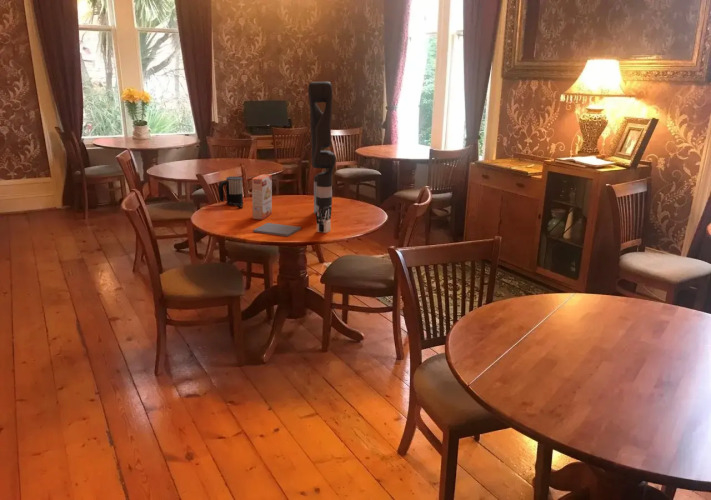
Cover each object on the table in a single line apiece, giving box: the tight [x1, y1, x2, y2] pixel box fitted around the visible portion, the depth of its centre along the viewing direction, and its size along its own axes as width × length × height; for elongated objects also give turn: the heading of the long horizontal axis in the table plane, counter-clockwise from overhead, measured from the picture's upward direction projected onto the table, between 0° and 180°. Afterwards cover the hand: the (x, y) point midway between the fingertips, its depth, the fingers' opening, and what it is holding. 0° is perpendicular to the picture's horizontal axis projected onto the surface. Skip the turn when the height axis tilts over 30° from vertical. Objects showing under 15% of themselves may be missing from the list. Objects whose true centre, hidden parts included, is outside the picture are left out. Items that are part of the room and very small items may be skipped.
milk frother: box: [217, 176, 244, 209], centre depth 310 cm, size 14×16×15 cm
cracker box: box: [251, 173, 273, 221], centre depth 288 cm, size 14×6×21 cm, turn 168°
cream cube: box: [316, 219, 332, 234], centre depth 269 cm, size 5×5×5 cm
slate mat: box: [252, 222, 302, 238], centre depth 267 cm, size 14×18×1 cm
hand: (323, 230), depth 269 cm, fingers closed on cream cube, 5 cm apart
